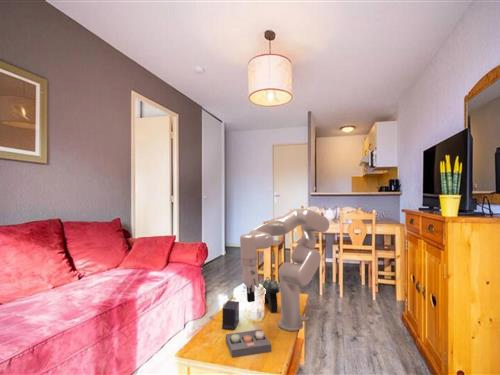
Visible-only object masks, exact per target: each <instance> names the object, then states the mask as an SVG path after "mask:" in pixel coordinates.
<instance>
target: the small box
mask: <svg viewBox="0 0 500 375" xmlns="http://www.w3.org/2000/svg"><path fill="white" fill-rule="evenodd" d="M221 321H222V325H221V327H222V328H221V329H222V330H228V331H229V330H230V331H233V330H235V329H236V328H237V325H238V324H239V322H240V301H234V300H233V301H232V300H227V302H226V303H225V305H223V307H222V320H221Z"/></svg>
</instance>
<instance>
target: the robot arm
mask: <svg viewBox="0 0 500 375" xmlns="http://www.w3.org/2000/svg"><path fill="white" fill-rule="evenodd" d="M297 227H300V228H301V229H300V230H301V237H300V239H299V241H298V242H297V244H296V246H295V247H294V249H293V251H292V252H291V255H290V257H291V261H292V262H289V261H286V262H283V263H281V265H280V266H279V268H278V278H279V281H280V284H279V285H280V320H278V322H277V325H278V327H279V328H280V329H281V330H284V331H287V332H295V331H296V332H297V331H300V330H302V329H303V328H304V322H309V321H310V319H309V316H304V315H301V311H300V310H301V307H300V304H301V303H300V302H301V301H300V296H301V295H300V294H301V293H300V287H306V286H307V285H308V284H310V282H311V280H312V279H313V277H314V275H315V274H316V272H317V270H318V268H319V267H320V264H321V261H322V256H321V253H320V251H319V250H318V249H316V248H315V247H316V245H317V237H316V233H321V234H322V233H326V232H328V230H329V229H330V222H329V219H328V218H327V217H326V216H324V215H322V214H320V213H318V212H316V211H314V210H311V209H308V208H305V209H304V208H296V209H294V208H293V210H291V211H289V212H288V213H285V214H284V215H283V216H281V217H279V218H277V219H275V220H272V221H269V222H267V223H263V224H260V225H259V226H257V227H255V228H254V229H252V230H251V231H249V232H248V233H244V234H241V236H240V237H239V242H240V243H239V244H240V245H239V246H240V265H241V266H242V279H243V284H244V285H245V287H246V301H247V302H248V303H252V302H255V300H256V298H255V296H256V295H255V292H256V288H259V287H260V280H259V273H258V271H259V270H258V250H263V249H265V250H266V249H269V248H270V247H271V246H273V244H274V238H273V237H275V236H285V235H287V234H289V233H290V232H292V231H293V230H294V229H296V228H297Z"/></svg>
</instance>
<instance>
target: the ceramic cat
mask: <svg viewBox="0 0 500 375" xmlns="http://www.w3.org/2000/svg"><path fill="white" fill-rule="evenodd" d="M269 276H270V277H269ZM269 276H268V277H266V279H265V280H264V281H263V285H262V288H263V287H264V288H265V289H266V294H265V305H267V304H269V312H270V313H271V314H277V313H278V304H279V303H278V297H277V294H279V293H280V288H279V284H278V282H277V280H276V279H273V275H272V274H271V273H270V275H269ZM270 278H271V279H270Z"/></svg>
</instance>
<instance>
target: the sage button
mask: <svg viewBox="0 0 500 375" xmlns="http://www.w3.org/2000/svg"><path fill="white" fill-rule="evenodd" d="M239 342H240V336H239V335H238V334H233V335H232V336H231V343H232V344H235V343H239Z"/></svg>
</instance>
